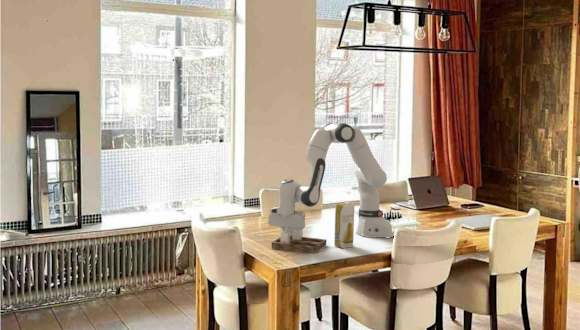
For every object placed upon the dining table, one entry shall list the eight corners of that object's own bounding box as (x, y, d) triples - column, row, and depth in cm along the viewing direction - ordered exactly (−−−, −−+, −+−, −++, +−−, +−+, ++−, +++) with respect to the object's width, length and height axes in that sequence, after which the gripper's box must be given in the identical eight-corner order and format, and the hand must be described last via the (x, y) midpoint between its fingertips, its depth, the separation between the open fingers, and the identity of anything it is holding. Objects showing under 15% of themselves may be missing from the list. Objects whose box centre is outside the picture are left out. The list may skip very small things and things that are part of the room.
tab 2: (301, 241, 343) (302, 228, 342) (299, 242, 340) (299, 229, 339) (294, 240, 345) (294, 227, 344) (292, 241, 341) (292, 228, 340)
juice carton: (342, 249, 334) (343, 203, 331) (332, 245, 340) (333, 201, 337) (355, 246, 340) (356, 201, 336) (345, 243, 346) (346, 199, 342)
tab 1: (289, 244, 336) (290, 231, 335) (287, 246, 333) (287, 232, 332) (282, 243, 337) (283, 230, 336) (280, 245, 334) (280, 231, 333)
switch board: (326, 245, 341) (326, 239, 341) (315, 253, 325) (315, 247, 324) (284, 240, 350) (284, 234, 349) (271, 248, 333) (271, 242, 333)
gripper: (307, 210, 341) (306, 236, 343) (271, 207, 349) (271, 232, 351) (303, 213, 336) (302, 238, 337) (267, 209, 343) (266, 234, 345)
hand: (286, 235), depth 344 cm, fingers closed
